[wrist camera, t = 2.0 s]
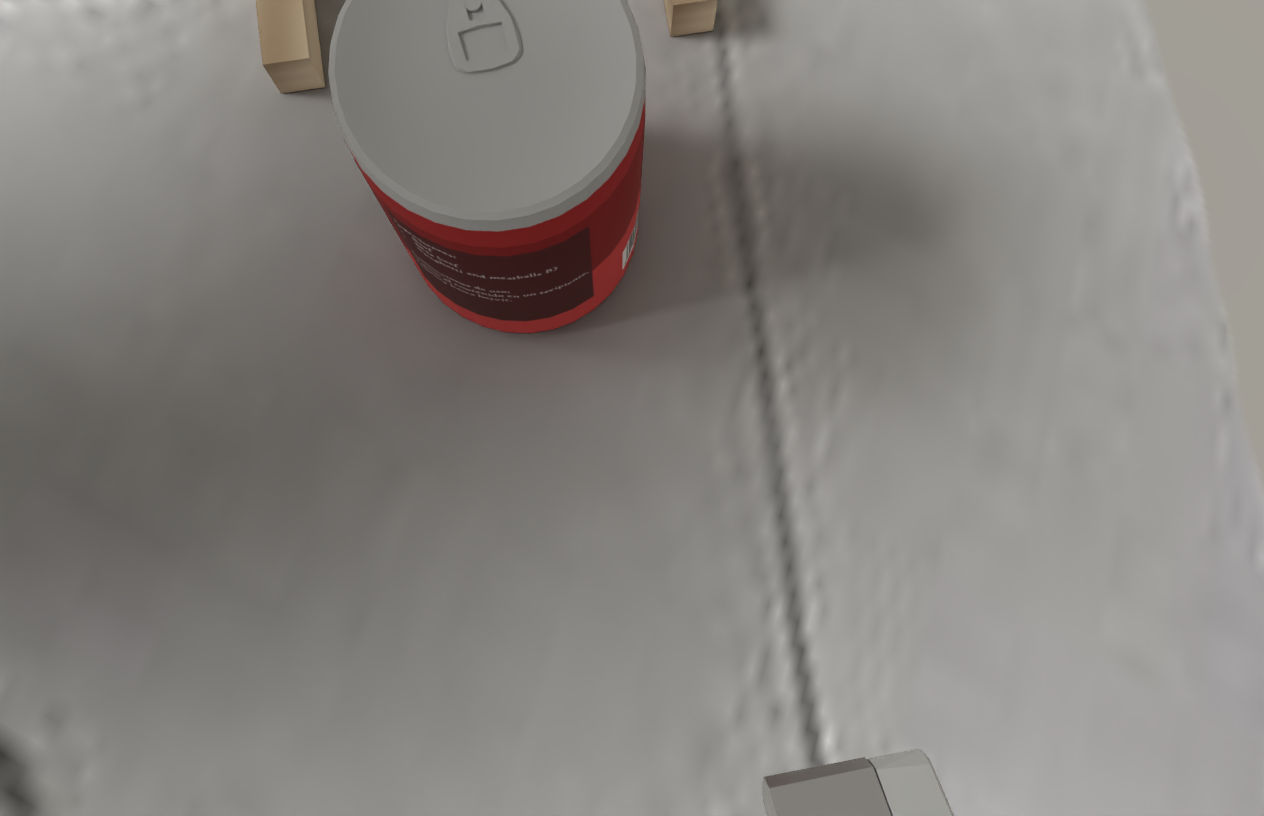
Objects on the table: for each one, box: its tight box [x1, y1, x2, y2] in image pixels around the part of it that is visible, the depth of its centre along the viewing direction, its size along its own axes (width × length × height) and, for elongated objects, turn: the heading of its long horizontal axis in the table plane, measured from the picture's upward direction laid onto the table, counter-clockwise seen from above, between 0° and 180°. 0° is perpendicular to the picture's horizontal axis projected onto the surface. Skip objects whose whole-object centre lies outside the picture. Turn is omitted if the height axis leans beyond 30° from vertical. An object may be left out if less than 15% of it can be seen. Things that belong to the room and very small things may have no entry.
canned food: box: [328, 0, 646, 333], centre depth 32 cm, size 8×8×11 cm
